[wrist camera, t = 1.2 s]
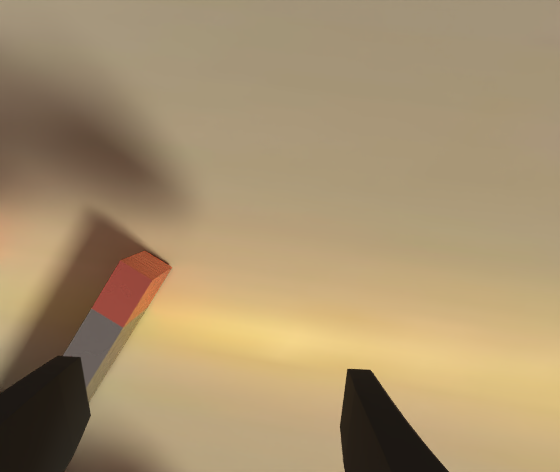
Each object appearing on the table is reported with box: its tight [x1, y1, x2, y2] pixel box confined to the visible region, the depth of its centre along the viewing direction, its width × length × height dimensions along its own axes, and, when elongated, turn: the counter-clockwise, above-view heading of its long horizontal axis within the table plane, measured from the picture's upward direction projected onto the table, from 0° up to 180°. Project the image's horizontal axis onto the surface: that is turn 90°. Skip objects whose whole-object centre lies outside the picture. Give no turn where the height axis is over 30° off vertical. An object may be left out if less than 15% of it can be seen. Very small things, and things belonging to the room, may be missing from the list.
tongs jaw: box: [63, 251, 172, 402], centre depth 19 cm, size 12×2×3 cm, turn 147°
